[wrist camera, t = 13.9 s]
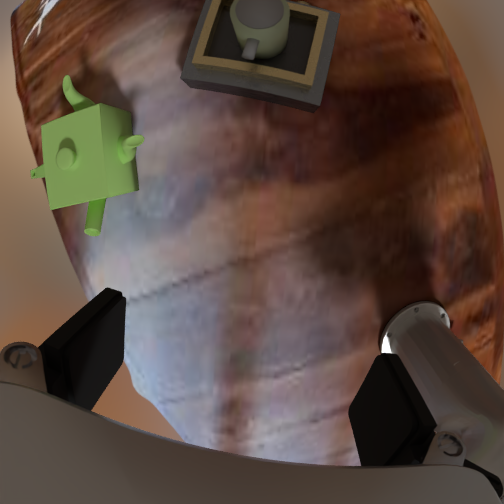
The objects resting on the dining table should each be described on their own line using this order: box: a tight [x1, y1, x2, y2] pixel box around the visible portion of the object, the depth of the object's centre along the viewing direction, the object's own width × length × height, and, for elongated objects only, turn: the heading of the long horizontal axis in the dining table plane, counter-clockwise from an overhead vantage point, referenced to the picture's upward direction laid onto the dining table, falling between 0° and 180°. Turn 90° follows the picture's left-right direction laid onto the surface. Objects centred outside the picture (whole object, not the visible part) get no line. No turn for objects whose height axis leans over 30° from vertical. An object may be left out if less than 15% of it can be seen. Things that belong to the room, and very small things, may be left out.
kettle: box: [30, 75, 144, 236], centre depth 33 cm, size 15×14×11 cm
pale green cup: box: [230, 0, 290, 60], centre depth 25 cm, size 6×7×7 cm
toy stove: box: [180, 0, 340, 113], centre depth 30 cm, size 16×14×7 cm
